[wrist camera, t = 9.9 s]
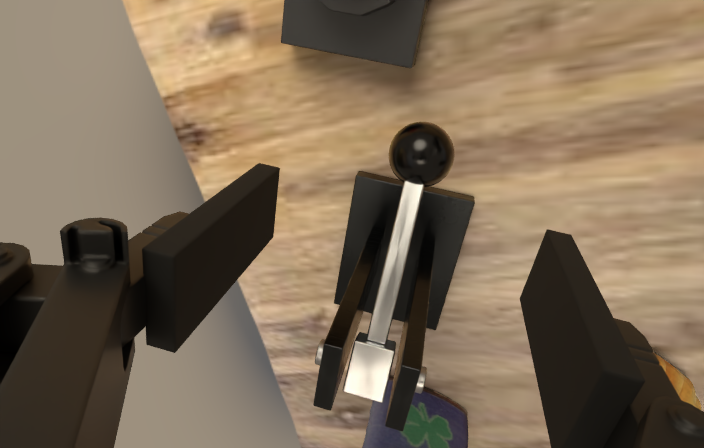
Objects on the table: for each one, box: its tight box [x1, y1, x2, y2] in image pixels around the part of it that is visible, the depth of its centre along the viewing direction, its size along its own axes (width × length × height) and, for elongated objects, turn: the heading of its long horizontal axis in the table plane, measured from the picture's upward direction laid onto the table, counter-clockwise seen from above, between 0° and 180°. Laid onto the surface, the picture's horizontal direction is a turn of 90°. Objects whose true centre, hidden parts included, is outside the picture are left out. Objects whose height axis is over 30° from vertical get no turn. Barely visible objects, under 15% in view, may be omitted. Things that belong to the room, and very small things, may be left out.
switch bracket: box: [314, 171, 475, 431], centre depth 31 cm, size 12×9×16 cm
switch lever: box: [343, 122, 454, 403], centre depth 25 cm, size 15×4×4 cm, turn 172°
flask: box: [363, 376, 468, 448], centre depth 39 cm, size 9×3×11 cm, turn 69°
